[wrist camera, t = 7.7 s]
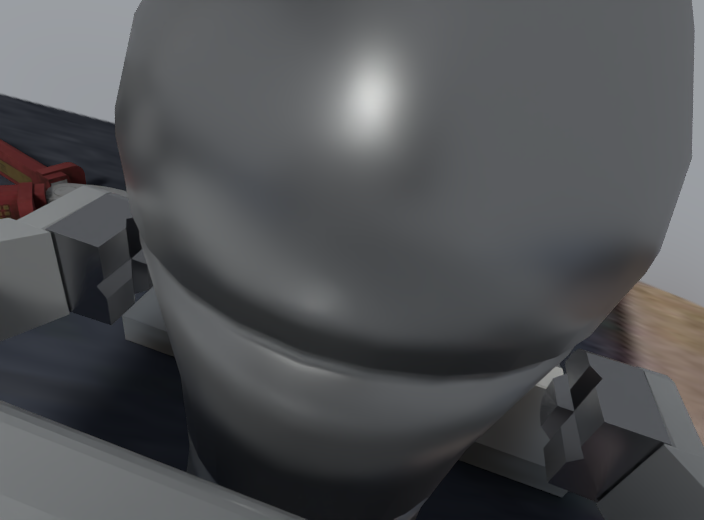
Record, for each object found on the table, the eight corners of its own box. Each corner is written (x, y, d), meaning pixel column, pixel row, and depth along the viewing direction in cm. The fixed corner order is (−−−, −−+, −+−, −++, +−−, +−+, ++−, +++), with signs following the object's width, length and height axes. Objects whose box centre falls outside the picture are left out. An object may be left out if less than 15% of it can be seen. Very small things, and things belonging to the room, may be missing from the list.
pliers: (155, 304, 23) (152, 263, 21) (-283, 233, 21) (-320, 183, 19) (216, 199, 32) (217, 166, 30) (-82, 143, 30) (-97, 105, 29)
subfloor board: (125, 339, 20) (121, 313, 19) (230, 232, 28) (231, 210, 27) (562, 497, 18) (582, 477, 17) (539, 335, 26) (552, 315, 25)
